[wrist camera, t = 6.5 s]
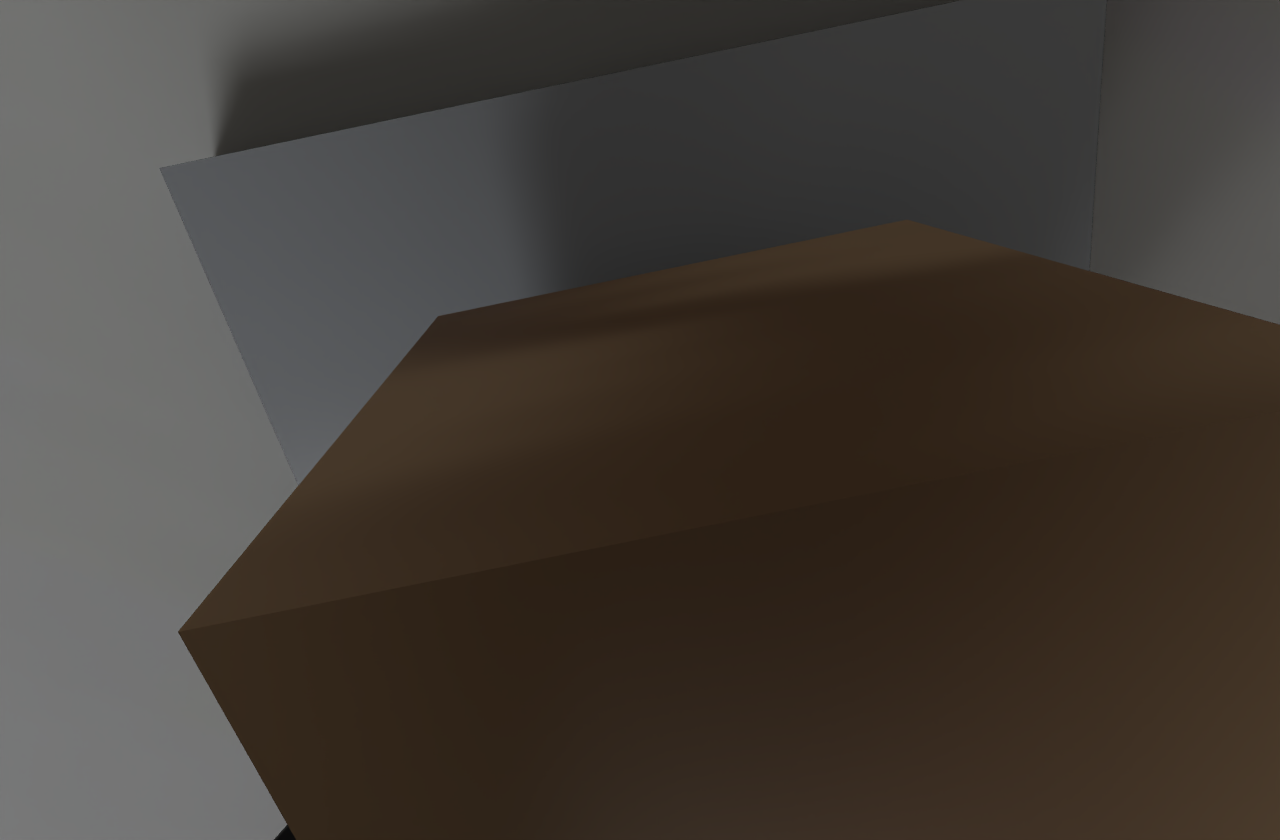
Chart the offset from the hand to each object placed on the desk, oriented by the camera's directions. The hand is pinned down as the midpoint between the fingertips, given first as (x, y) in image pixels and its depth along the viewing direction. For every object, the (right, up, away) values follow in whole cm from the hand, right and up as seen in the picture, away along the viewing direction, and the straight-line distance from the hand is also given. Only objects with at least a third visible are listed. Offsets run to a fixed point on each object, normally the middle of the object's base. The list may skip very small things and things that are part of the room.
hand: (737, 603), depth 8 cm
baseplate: (0, +2, +3) cm, 4 cm away
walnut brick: (0, 0, +1) cm, 1 cm away
